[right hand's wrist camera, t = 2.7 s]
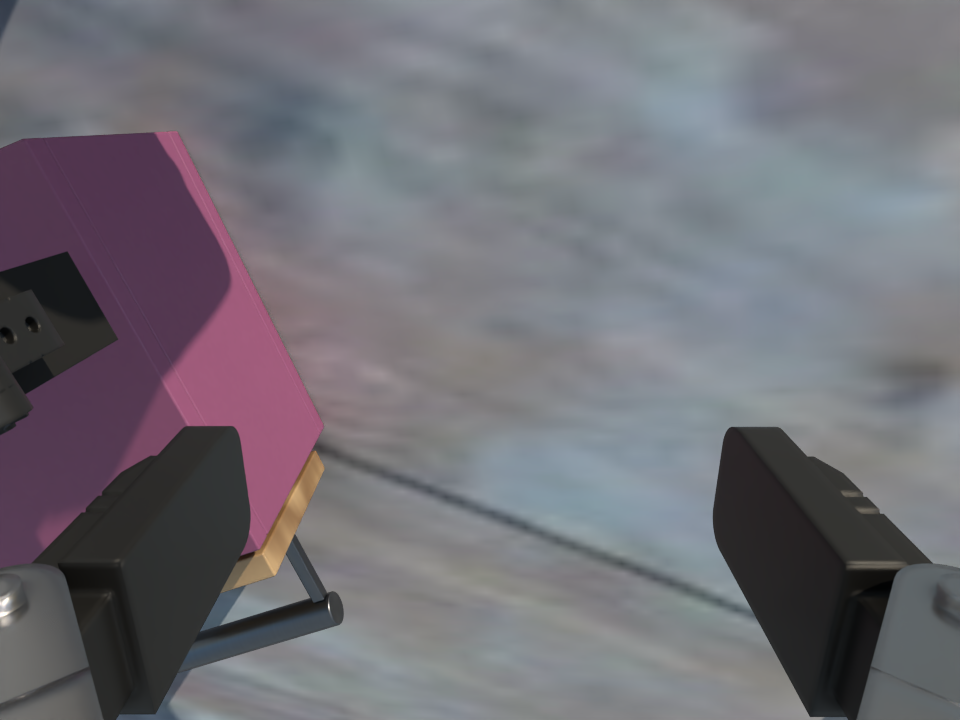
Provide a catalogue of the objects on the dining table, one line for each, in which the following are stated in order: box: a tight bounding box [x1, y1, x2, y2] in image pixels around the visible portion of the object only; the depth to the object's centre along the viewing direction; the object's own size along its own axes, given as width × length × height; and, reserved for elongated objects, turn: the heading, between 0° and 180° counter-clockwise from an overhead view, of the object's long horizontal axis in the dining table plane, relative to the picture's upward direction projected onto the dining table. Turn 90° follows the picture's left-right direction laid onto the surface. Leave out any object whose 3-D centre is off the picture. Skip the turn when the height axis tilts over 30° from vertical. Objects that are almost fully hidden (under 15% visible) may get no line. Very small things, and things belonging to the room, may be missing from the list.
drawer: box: [178, 451, 344, 673], centre depth 30 cm, size 20×9×9 cm, turn 20°
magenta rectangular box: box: [0, 131, 324, 568], centre depth 29 cm, size 16×11×11 cm, turn 20°
